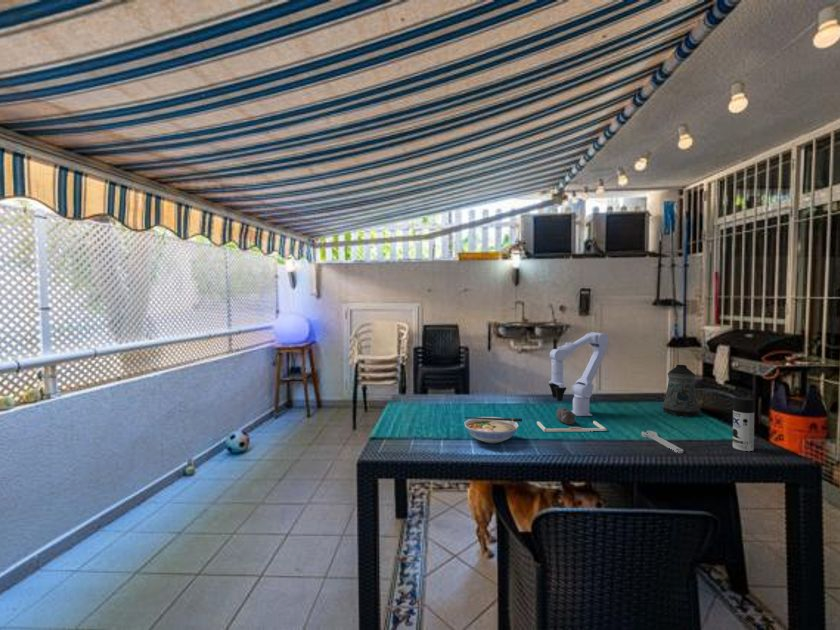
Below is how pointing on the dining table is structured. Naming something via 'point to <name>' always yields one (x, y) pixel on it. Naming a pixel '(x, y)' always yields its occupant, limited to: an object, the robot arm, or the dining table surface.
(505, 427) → the ramen bowl
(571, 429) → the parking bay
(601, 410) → the dining table surface
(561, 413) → the perforated stone tool
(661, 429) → the dining table surface
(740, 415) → the spray can
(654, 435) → the adjustable wrench
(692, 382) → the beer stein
